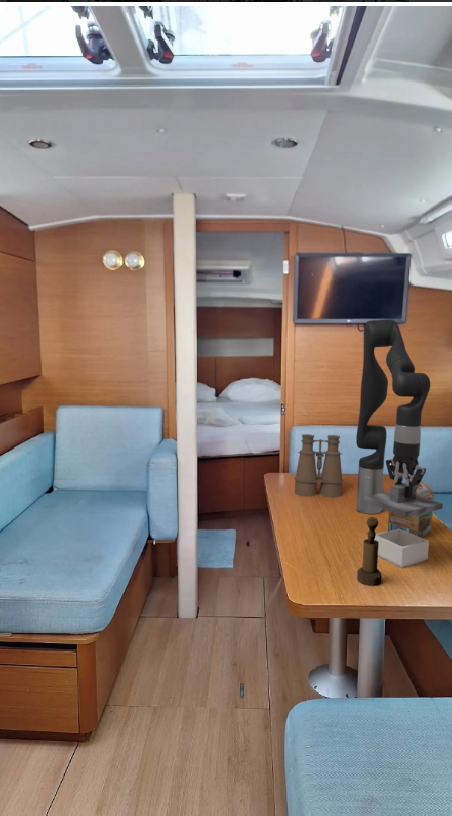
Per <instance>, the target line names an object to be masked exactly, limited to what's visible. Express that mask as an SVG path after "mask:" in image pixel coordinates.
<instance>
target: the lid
mask: <svg viewBox="0 0 452 816" xmlns="http://www.w3.org/2000/svg"><path fill="white" fill-rule="evenodd" d="M405 486H406V483H404V482H403V484H399V485H395V484H393V485H390V488H389V489H390V490H389V491H384V493H380V494H375V495H369V496H364V502H366V503H369V504H372V505H374V506H377V507H379V508H382V509H383V510H385V511H388V512H389V511H390V512H393V513H395V514H398V515H401V516H403V517H409V516H413V515H418V514H422V513H426V512H431V511H433V512H435V511H440V510H443V505H444V504H443V503H442V502H439V501H436V500H434V501H433V500H430V499H427V498H424V497H421V496H418V495H416V490H417V485H415V486H413V495H412V497H411V498H408V499H407V498H405Z"/></svg>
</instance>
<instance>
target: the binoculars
mask: <svg viewBox="0 0 452 816" xmlns="http://www.w3.org/2000/svg"><path fill="white" fill-rule="evenodd" d="M301 437H302V439H301V443H302V445H301V450H300V451H298V452H297V454H299V457H298V460H297V461H298V463H297V468H296V472H295V473H296V474H295V477H294V478H293V479H294V481H295V482H294V483H295V484H294V494H295V495H297V496H299V497H314V496H317V486H318V485H317V484H318V483H320V488H319V494H320V495H321V496H323V497H327V498H328V497H329V498H339V497H342V495H343V482H344V479H343V473H342V458H341V455H343V453H341V452H340V451H339V444H340V443H341V441H340V438H341V436H340V435H336V434H329V435H327V436H326V437H327V439H321V438H319V439H315V435H314V434H308V433H307V434H305V433H304V434H301ZM315 442H318V451H314V443H315ZM322 442H325V443H327V450H326V451H322ZM316 457H317V458H316ZM323 458H324V459H323ZM322 459H323V462H322ZM316 460H317V462H316ZM322 463H323V465H322ZM321 469H322V470H321Z"/></svg>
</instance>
